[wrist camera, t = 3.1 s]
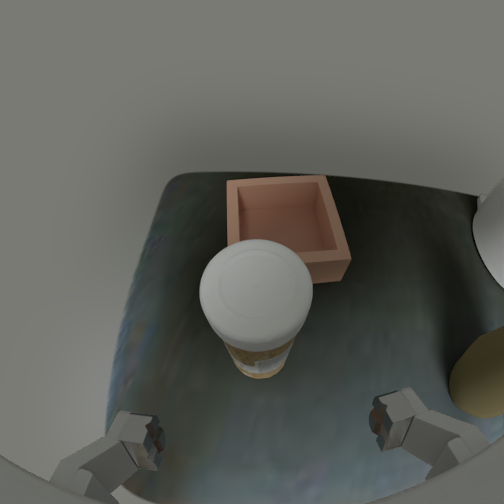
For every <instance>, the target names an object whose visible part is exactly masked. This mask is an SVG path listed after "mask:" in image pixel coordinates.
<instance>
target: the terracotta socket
mask: <svg viewBox="0 0 504 504" xmlns="http://www.w3.org/2000/svg"><path fill="white" fill-rule="evenodd" d="M227 235H228V246H230V245H232V244H234V243H237V242H240V241H245V240H253V239H262V240H269V241H273V242H276V243H279V244H282V245H284V246H286V247H287V248H289V249H290V250H292V251H293V252H294V253H296V254H297V255H298V256H299V257H300V259H301V260H302V261H303V262H304V264H305V265H306V267H307V269H308V271H309V273H310V276H311V280H312V284H314V283H324V282H334V281H341V279H342V277H343V275H344V273H345V271H346V269H347V267H348V265H349V263H350V261H351V255H350V252H349V248H348V245H347V241H346V238H345V234H344V231H343V228H342V224H341V221H340V218H339V215H338V212H337V209H336V206H335V202H334V199H333V196H332V194H331V191H330V188H329V185H328V182H327V179H326V176H325V175H311V176H287V177H269V178H254V179H241V180H229V181H227Z"/></svg>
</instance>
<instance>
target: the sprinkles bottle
mask: <svg viewBox="0 0 504 504" xmlns="http://www.w3.org/2000/svg"><path fill="white" fill-rule="evenodd" d="M312 296H313V285H312V280H311V276H310V273H309V271H308V269H307V267H306V265H305V264H304V262H303V261H302V260H301V259H300V257H299V256H298V255H297V254H296V253H294V252H293V251H292V250H290V249H289V248H287V247H286V246H284V245H282V244H279V243H276V242H273V241H269V240H262V239H253V240H245V241H240V242H237V243H234V244H232V245H230V246H228V247H226V248H224V249H223V250H222V251H220V252H219V253H218V254H217V255H215V256H214V258H213V259H212V260H211V261H210V262H209V264H208V265H207V267H206V269H205V271H204V273H203V275H202V278H201V282H200V302H201V306H202V309H203V312H204V314H205V316H206V318H207V320H208V322H209V323H210V325H211V327H212V328H213V330H214V331H215V332H216V334H217V335H218V336H219V337H220V338H221V339H222V340H223V341H224V344H225V346H226V348H227V349H228V351H229V353H230V355H231V357H232V358H233V360H234V362H235V365H236V366H237V368H238V369H239V370H240V371H241V372H242V373H243V374H245V375H247V376H249V377H252V378H258V379H261V378H268V377H271V376H272V375H274V374H276V373H277V372H279V371H280V370H281V369H282V367H283V366H284V364H285V362H286V358H287V356H288V354H289V351H290V349H291V347H292V344H293V342H294V340H295V337H296V334H297V333H298V332H299V330H300V329H301V327H302V326H303V324H304V322H305V320H306V317H307V315H308V312H309V309H310V306H311V302H312Z"/></svg>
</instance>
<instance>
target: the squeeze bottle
mask: <svg viewBox="0 0 504 504" xmlns="http://www.w3.org/2000/svg"><path fill="white" fill-rule="evenodd" d="M449 389H450V396H451V398H452V401H453V403H454V405H456V406H457V407H458V408H459V409H460V410H462V411H465V412H467V413H469V414H471V415H474V416H476V417H479V418H492V417H495V416H498V415H501V414H504V326H503V327H501V328H498V329H496V330H494V331H491V332H489V333H486V334H484V335H481V336H479V337H478V338H477V339H476V340H475V341H474V342H473V343H472V344H471V345H470V347H469V348H468V349H467V350H466V352H465V353H464V354H463V355H462V356H461V357H460V359H459V360H458V361H457V362H456V363H455V366H454V367H453V369H452V371H451V375H450V381H449Z"/></svg>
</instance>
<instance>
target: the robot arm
mask: <svg viewBox="0 0 504 504" xmlns="http://www.w3.org/2000/svg"><path fill="white" fill-rule="evenodd" d="M477 205H478V210H477V212H476V214H475V216H474V219H473V234H474V239H475V242H476V245H477V248H478V251H479V253H480V255H481V258H482V260H483V261H484V263H485V265H486V267H487V268H488V270H489V272H490V273H491V274H492V276H493V277H494V278H495V280H496V281H497V282H498V283H499V284H500V285H501V286H502V287H503V288H504V175H503V176H502V178H501V179H500V180H499V182H498V183H497V184H496V186H495V187H494V188H493V189H492V191H491V192H490V193H489V195H485V194H481V195H480V196H479V197H478V199H477ZM372 404H373V406H374V408H373V409H372V410H371V411H370V415H369V425H370V428H371V430H372V433H374V434H376V435H378V437H377V440H376V441H377V443H378V445H379V447H380V450H381V452H384V451H387V450H390V449H394V448H397V447H400V446H401V447H402V448H403V449H405V450H406V451H408V452H410V453H411V454H413V455H414V456H416V457H418V458H419V459H421V460H423V461H424V462H426V463H428V464H429V465H431V466H433V467H432V468H431V470H430V471H429V473H428V474H427V476H426V478H425V479H426V481H425V482H423V483H421V484H418V485H416V486H414V487H411V488H409V489H406V490H404V491H401V492H399V493H396V494H393V495H390V496H388V497H385V498H382V499H379V500H376V501H372V502H369V503H366V504H504V435H503V436H502V437H501V438H499V439H498V440H496V441H495V442H494V443H492V444H490V443H489V442H488V440H487V439H486V438H485V436H484V435H483V434H482V433H481V431H480V430H479V429H478V428H477V427H476V426H475V425H472V424H469V423H466V422H463V421H460V420H457V419H455V418H452V417H449V416H446V415H444V414H441V413H438V412H436V411H433V410H430V411H428V409H427V408H426V407H425V405H424V404H423V403H422V401H421V400H420V399H419V397H418V396H417V395H416V394H415V392H414V391H413V390H412V388H410V387H407V388H404V389H400V390H398V391H394V392H390V393H387V394H383V395H379V396H376V397H375V398H374V399H373V403H372ZM159 422H160V421H159V419H158V417H157V416H156V415H150V414H142V413H135V412H127V411H120V412H118V414H117V416H116V418H115V420H114V421H113V423H112V425H111V427H110V429H109V431H108V433H107V435H106V437H105V438H104V437H102V438H100V439H99V440H97V441H95V442H93V443H91V444H90V445H88V446H86V447H85V448H83V449H81V450H79V451H77V452H76V453H74V454H72V455H70V456H68V457H67V458H65V459H63V460H61V461H60V463H59V465H58V467H57V468H56V470H55V472H54V474H53V475H52V477H51V479H50V481H47V480H45V479H43V478H41V477H38V476H36V475H35V474H33V473H31V472H29V471H27V470H25V469H23V468H21V467H20V466H18V465H16V464H14V463H13V462H11V461H9V460H8V459H6V458H4V457H3V456H1V455H0V504H119V503H118V501H117V500H116V499H115V498H114V497H113V496H112V495H111V494H110V493H111V492H113V491H114V490H115V489H116V488H117V487H119V486H120V485H121V484H122V483H123V482H124V481H126V480H127V479H128V478H129V477H130V476H131V475H132V474H134V473H135V472H136V471H137V470H138V468H141V469H148V470H156V471H158V470H159V467H160V463H161V460H162V458H161V456H160V453H161V452H162V451H164V448H165V444H166V437H165V433H164V430H163V429H162V428H161V427H160V426H159Z"/></svg>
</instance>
